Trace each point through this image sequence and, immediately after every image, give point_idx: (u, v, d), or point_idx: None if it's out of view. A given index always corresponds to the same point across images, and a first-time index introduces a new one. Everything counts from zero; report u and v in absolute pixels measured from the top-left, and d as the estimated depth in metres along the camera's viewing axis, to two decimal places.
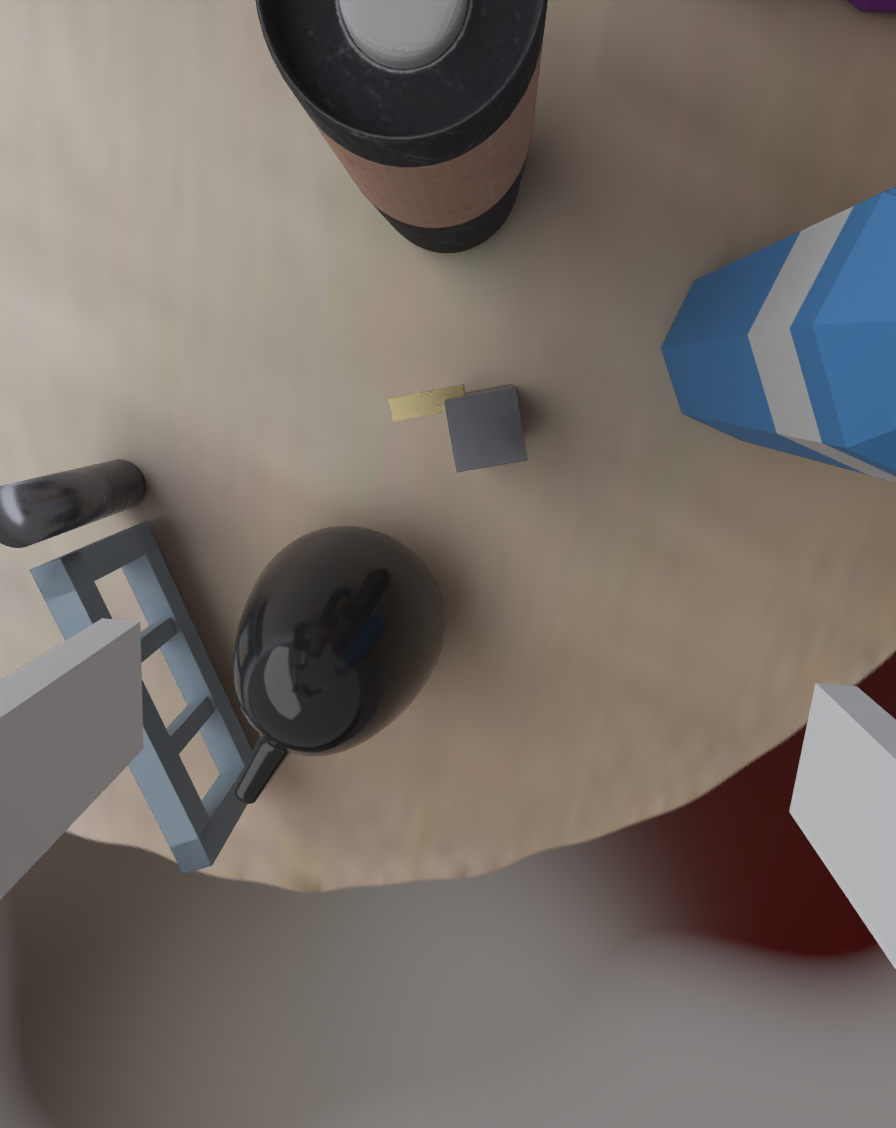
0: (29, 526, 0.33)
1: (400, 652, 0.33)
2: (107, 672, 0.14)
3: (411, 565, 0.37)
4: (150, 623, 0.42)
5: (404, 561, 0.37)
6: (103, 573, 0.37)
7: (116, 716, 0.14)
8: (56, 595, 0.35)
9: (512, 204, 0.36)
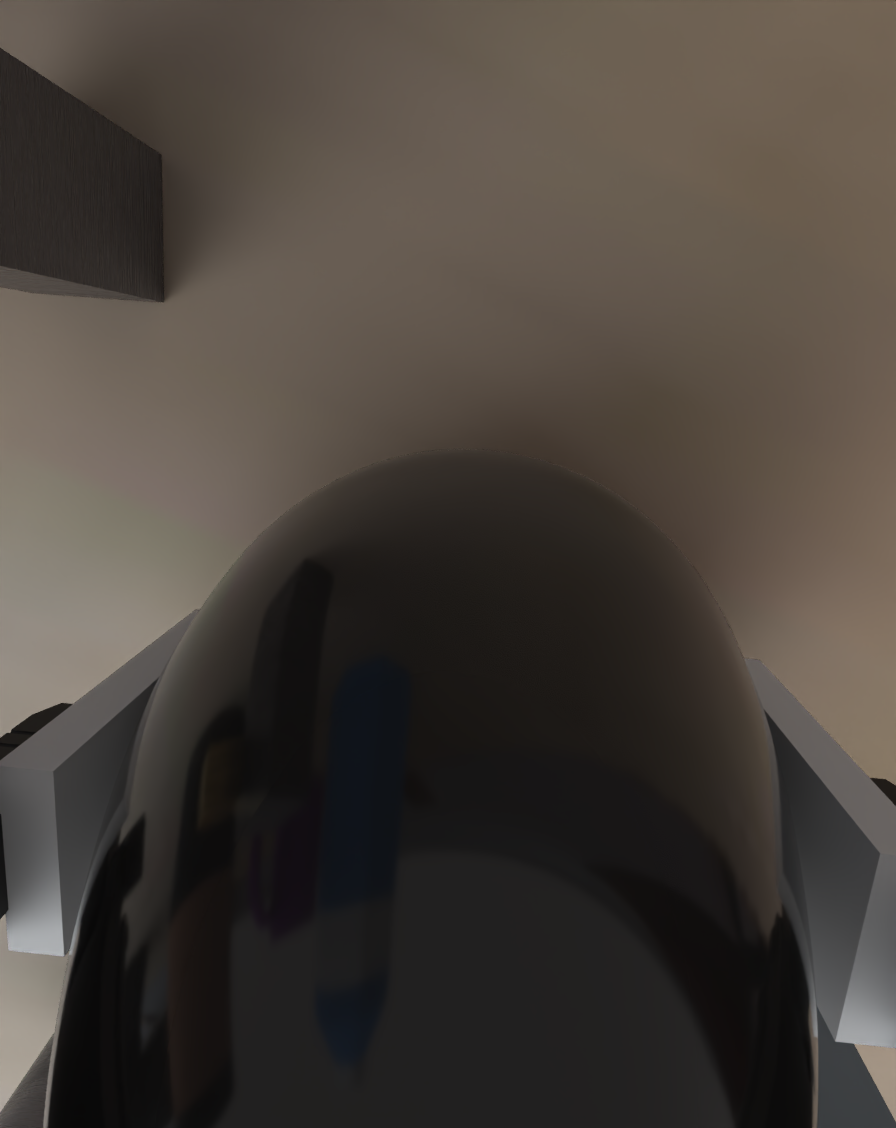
0: None
1: (420, 670, 0.07)
2: None
3: (301, 507, 0.12)
4: None
5: (279, 524, 0.12)
6: None
7: None
8: None
9: None
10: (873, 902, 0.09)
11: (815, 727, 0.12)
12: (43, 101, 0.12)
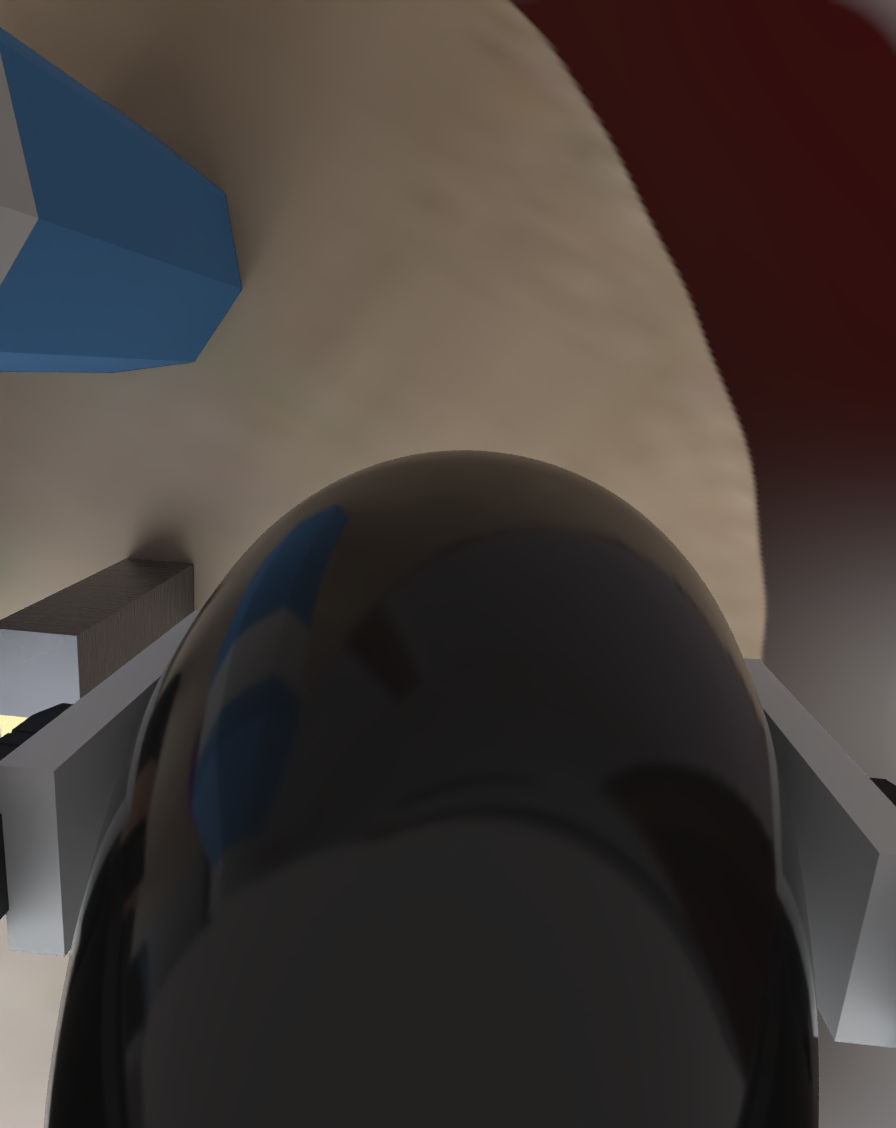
0: None
1: (421, 673, 0.07)
2: None
3: (301, 508, 0.12)
4: None
5: (279, 525, 0.12)
6: None
7: None
8: None
9: None
10: (873, 902, 0.09)
11: (815, 727, 0.12)
12: (149, 600, 0.29)
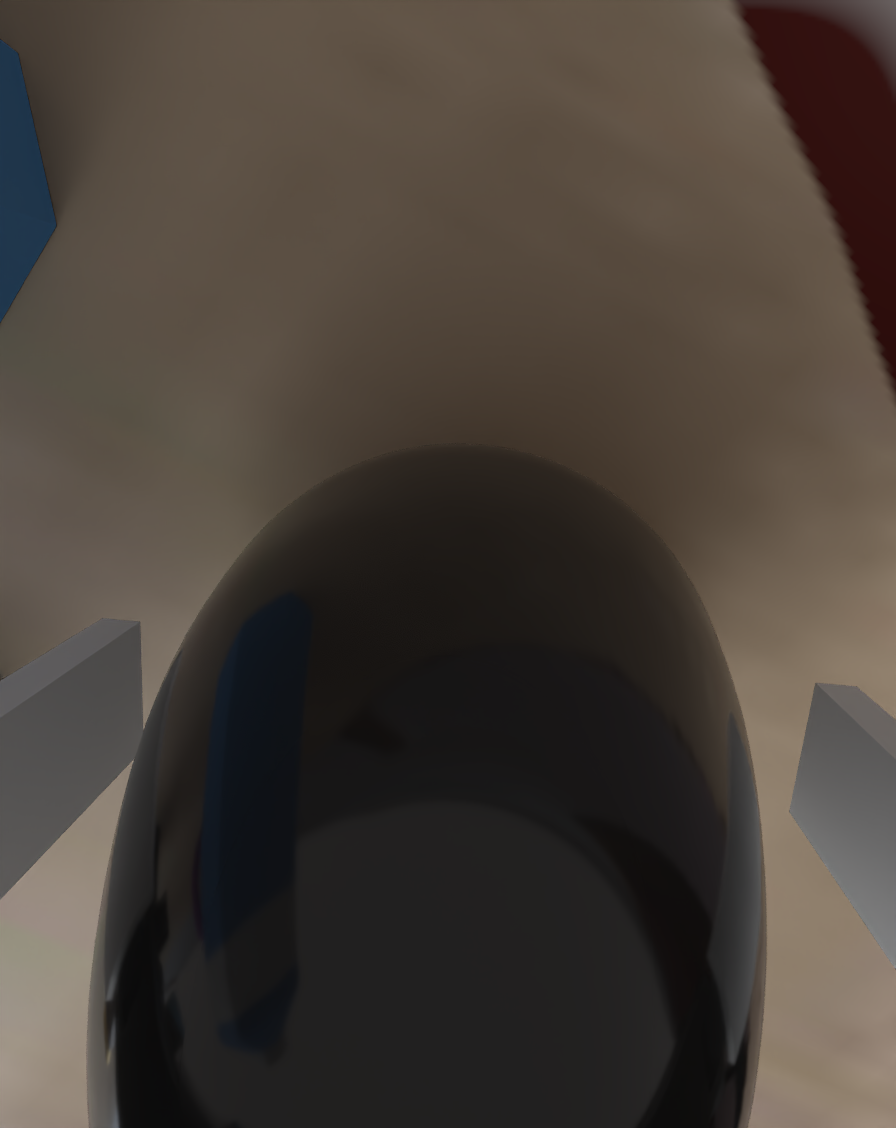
0: None
1: (417, 632, 0.08)
2: (107, 672, 0.14)
3: (308, 496, 0.13)
4: None
5: (287, 511, 0.13)
6: None
7: (116, 716, 0.14)
8: None
9: None
10: None
11: None
12: None
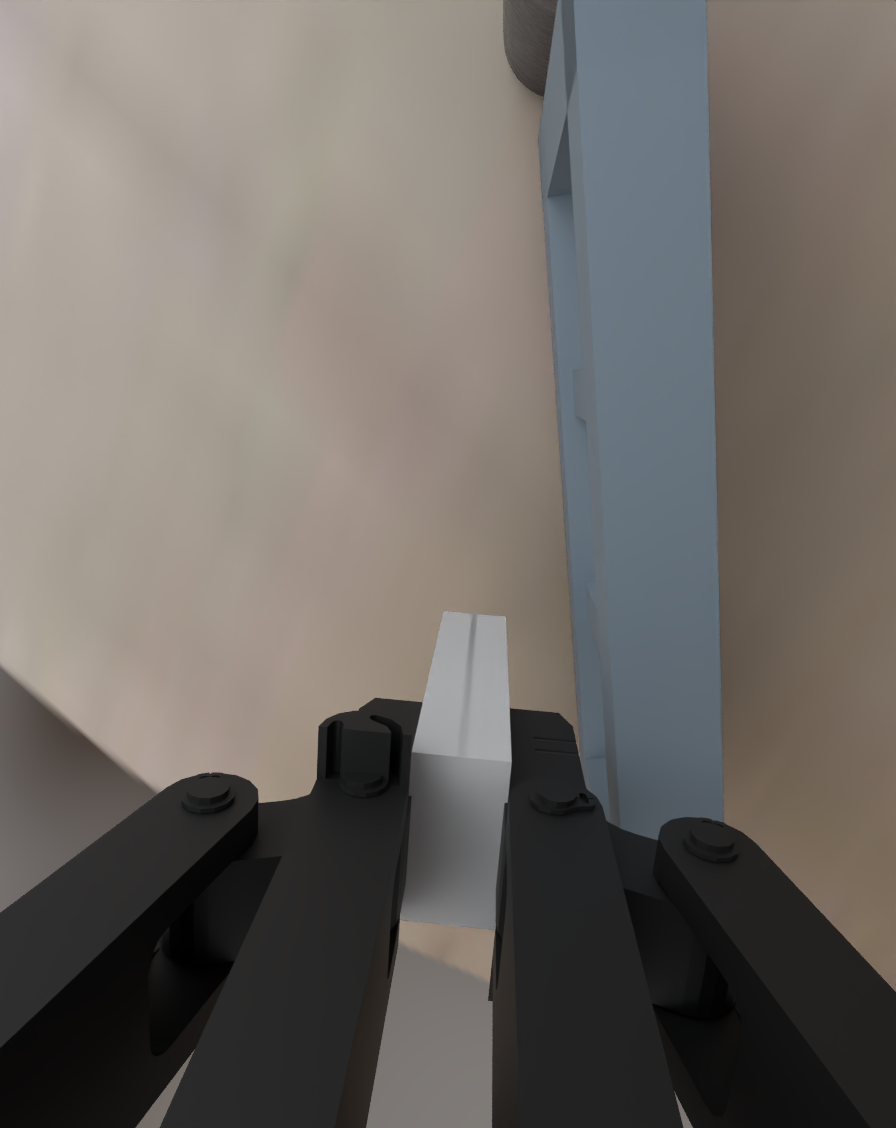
0: None
1: None
2: None
3: None
4: (563, 370, 0.17)
5: None
6: None
7: None
8: (627, 52, 0.10)
9: None
10: (460, 800, 0.11)
11: (501, 668, 0.14)
12: None
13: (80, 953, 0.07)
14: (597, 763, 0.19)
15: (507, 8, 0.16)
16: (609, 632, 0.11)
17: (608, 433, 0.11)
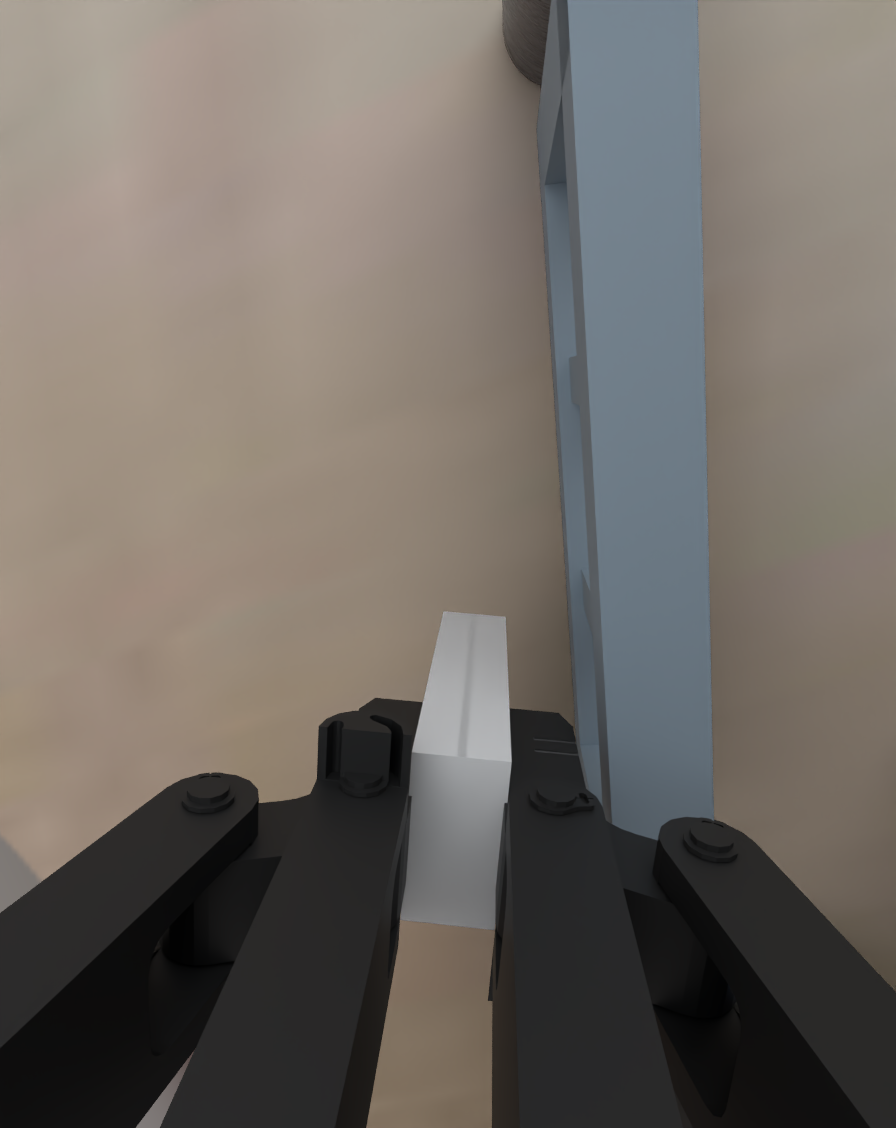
0: None
1: None
2: None
3: None
4: (560, 357, 0.17)
5: None
6: None
7: None
8: (620, 33, 0.10)
9: None
10: (459, 800, 0.11)
11: (501, 667, 0.14)
12: None
13: (80, 953, 0.07)
14: (592, 749, 0.19)
15: None
16: (600, 610, 0.11)
17: (600, 412, 0.11)
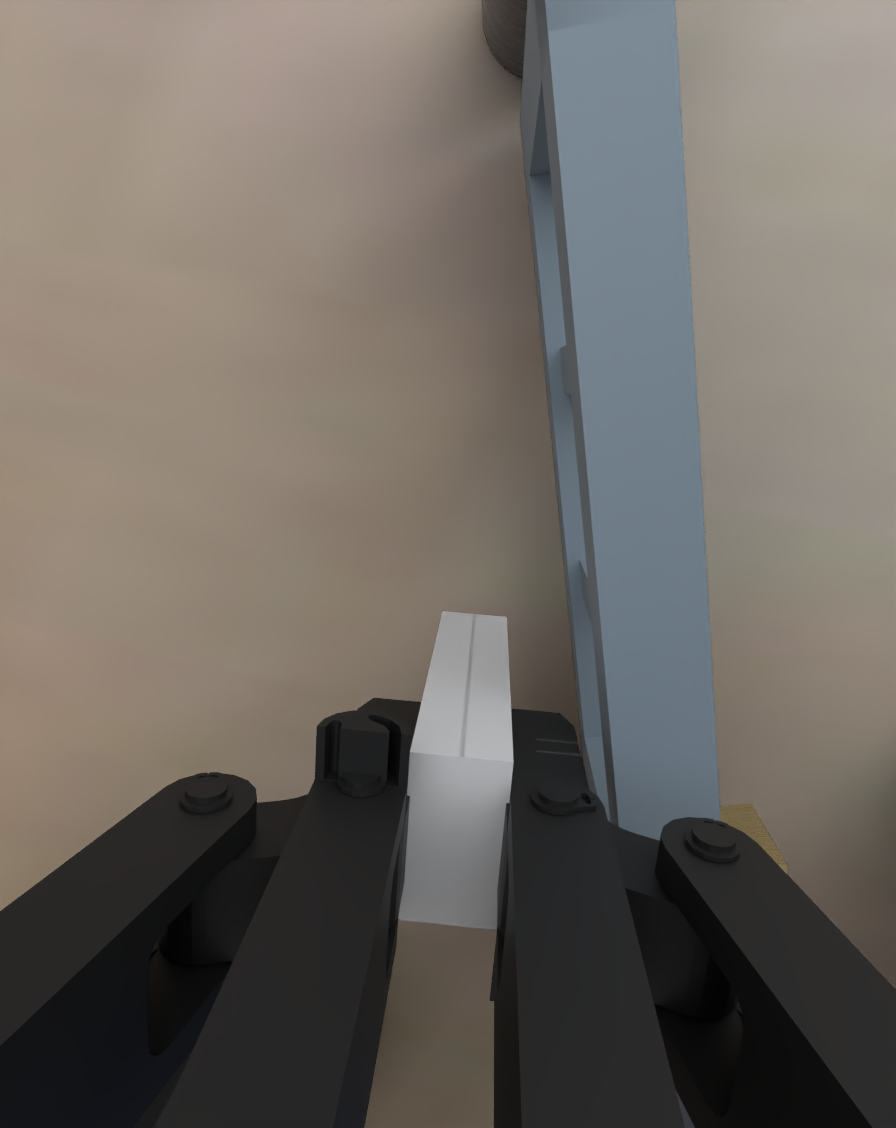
0: None
1: None
2: None
3: None
4: (550, 348, 0.17)
5: None
6: None
7: None
8: (597, 14, 0.10)
9: None
10: (461, 801, 0.11)
11: (502, 668, 0.14)
12: None
13: (78, 953, 0.07)
14: (597, 741, 0.19)
15: None
16: (598, 594, 0.11)
17: (590, 395, 0.11)
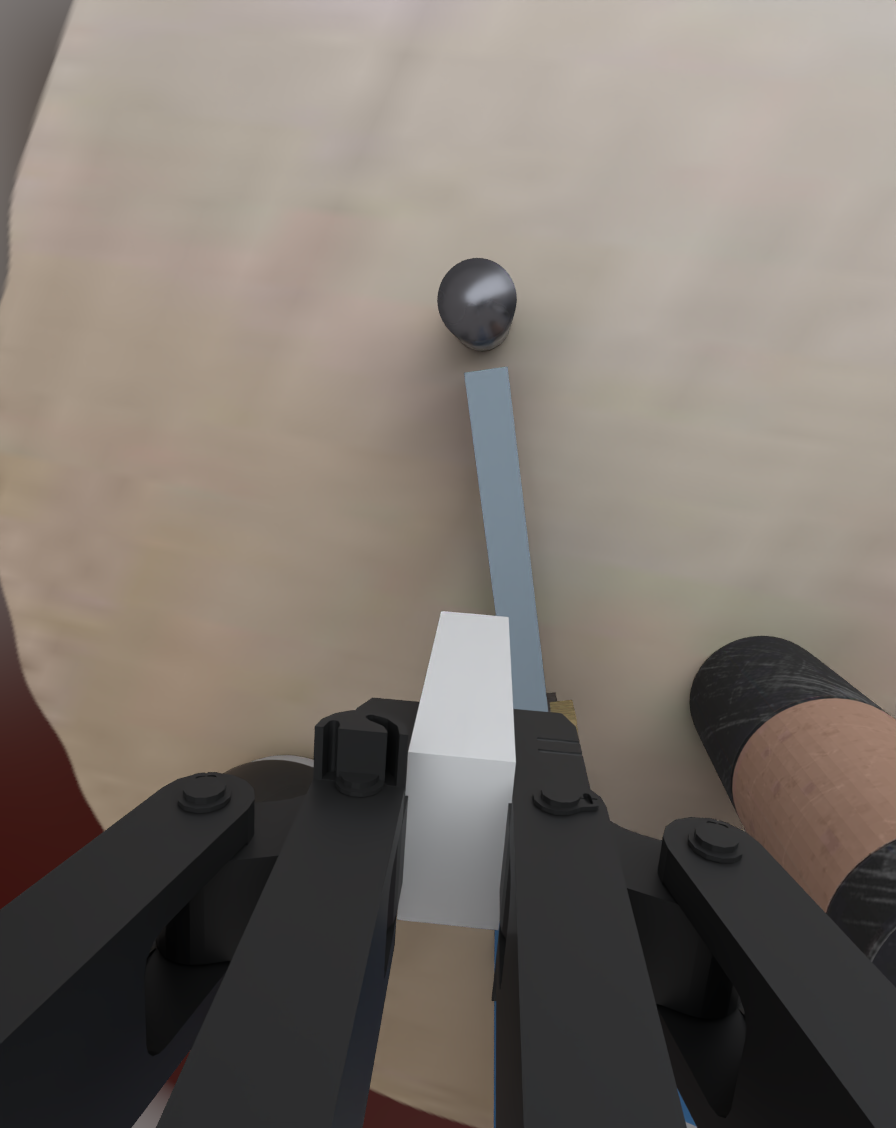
0: (463, 320, 0.27)
1: None
2: None
3: None
4: None
5: None
6: None
7: None
8: (486, 411, 0.28)
9: None
10: (463, 801, 0.11)
11: (504, 668, 0.14)
12: None
13: (76, 952, 0.07)
14: None
15: None
16: (495, 608, 0.30)
17: (489, 535, 0.29)
